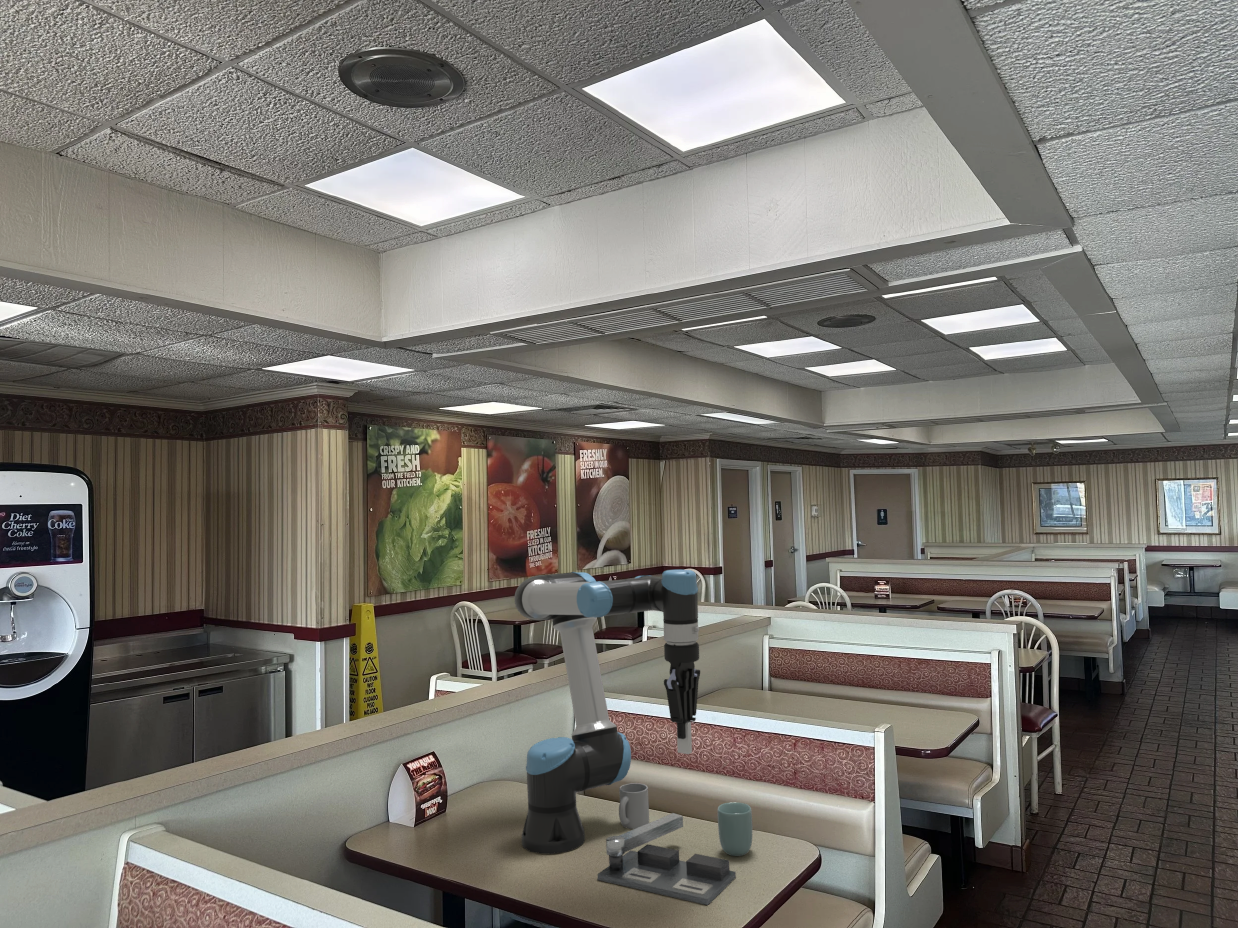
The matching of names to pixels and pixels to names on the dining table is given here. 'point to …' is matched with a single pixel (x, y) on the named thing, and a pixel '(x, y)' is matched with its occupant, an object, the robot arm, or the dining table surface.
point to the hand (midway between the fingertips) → (684, 752)
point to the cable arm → (643, 834)
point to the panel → (670, 873)
